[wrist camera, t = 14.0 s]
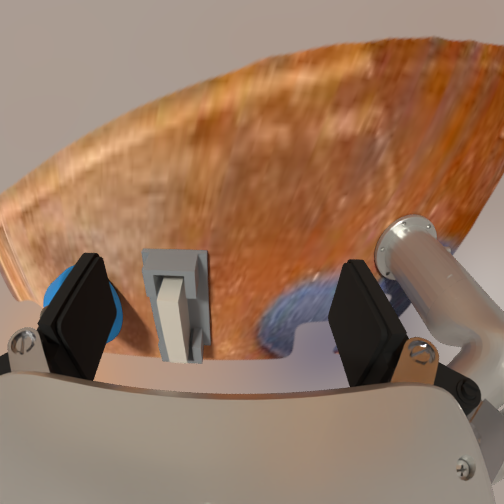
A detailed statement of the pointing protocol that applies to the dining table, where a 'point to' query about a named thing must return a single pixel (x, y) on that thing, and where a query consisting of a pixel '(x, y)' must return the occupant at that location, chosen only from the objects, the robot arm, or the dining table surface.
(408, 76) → the dining table surface
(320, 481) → the robot arm
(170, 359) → the light grey rectangular block
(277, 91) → the dining table surface
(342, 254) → the dining table surface
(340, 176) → the dining table surface
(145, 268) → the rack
